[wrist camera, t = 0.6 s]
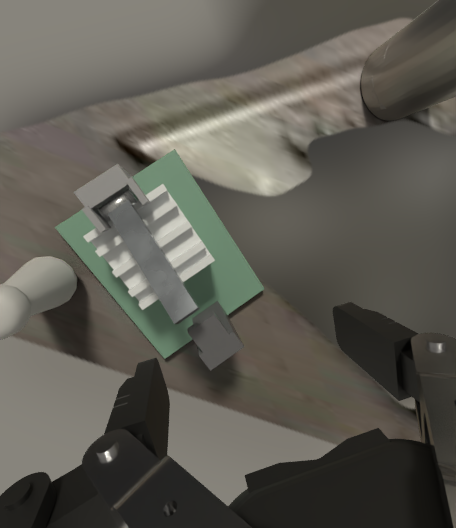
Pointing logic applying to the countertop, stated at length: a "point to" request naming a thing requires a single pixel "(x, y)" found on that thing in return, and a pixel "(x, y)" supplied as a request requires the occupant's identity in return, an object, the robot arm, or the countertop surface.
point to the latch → (214, 335)
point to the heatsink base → (200, 285)
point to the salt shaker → (34, 292)
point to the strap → (149, 256)
